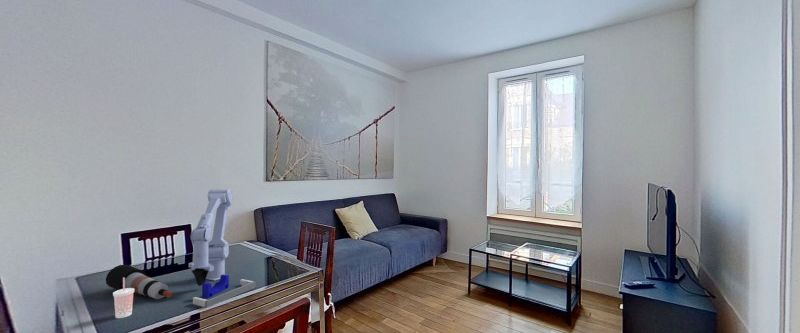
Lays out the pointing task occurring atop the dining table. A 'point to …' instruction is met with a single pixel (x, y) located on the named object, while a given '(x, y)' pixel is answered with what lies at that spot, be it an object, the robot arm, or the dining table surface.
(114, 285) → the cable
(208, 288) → the cable clip
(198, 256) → the robot arm
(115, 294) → the beverage cup
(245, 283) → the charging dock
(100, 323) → the dining table surface
